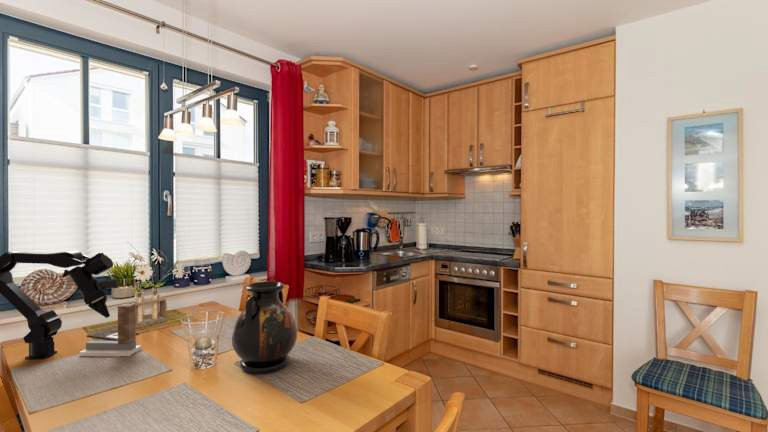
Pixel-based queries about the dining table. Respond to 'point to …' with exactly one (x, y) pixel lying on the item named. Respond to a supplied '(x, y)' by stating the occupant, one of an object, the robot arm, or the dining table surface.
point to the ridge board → (110, 352)
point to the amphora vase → (264, 330)
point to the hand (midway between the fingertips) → (108, 317)
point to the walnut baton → (126, 324)
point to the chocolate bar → (106, 334)
